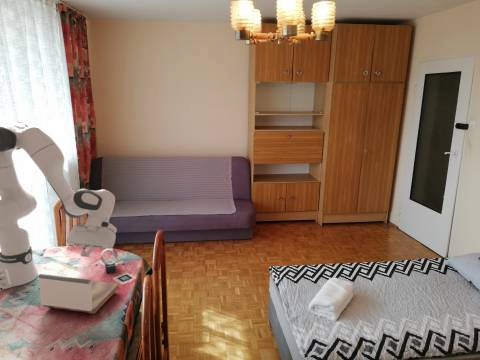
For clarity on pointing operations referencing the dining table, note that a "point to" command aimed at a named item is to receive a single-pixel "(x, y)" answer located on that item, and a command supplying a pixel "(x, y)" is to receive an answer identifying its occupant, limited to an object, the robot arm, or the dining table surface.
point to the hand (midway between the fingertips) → (84, 256)
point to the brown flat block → (96, 295)
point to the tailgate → (65, 292)
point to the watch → (110, 264)
